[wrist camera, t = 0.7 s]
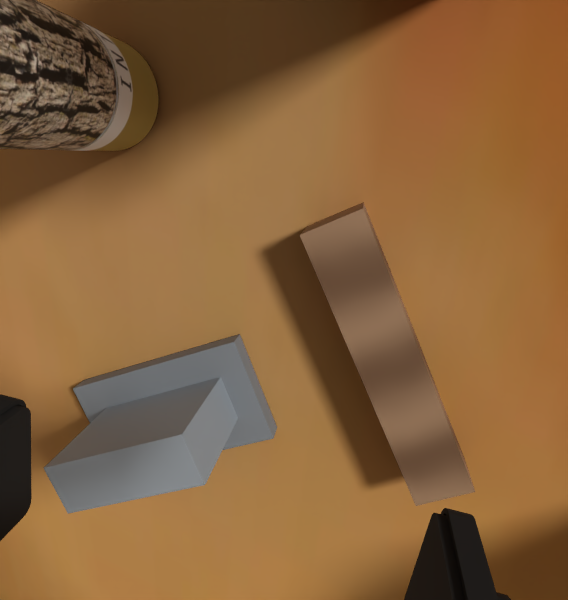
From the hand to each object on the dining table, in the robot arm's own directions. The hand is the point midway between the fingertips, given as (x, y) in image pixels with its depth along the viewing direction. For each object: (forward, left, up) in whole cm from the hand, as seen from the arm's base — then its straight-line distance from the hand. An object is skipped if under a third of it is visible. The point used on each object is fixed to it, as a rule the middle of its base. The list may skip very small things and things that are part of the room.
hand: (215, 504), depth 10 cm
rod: (-7, -3, -23) cm, 24 cm away
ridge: (-7, +14, -23) cm, 28 cm away
